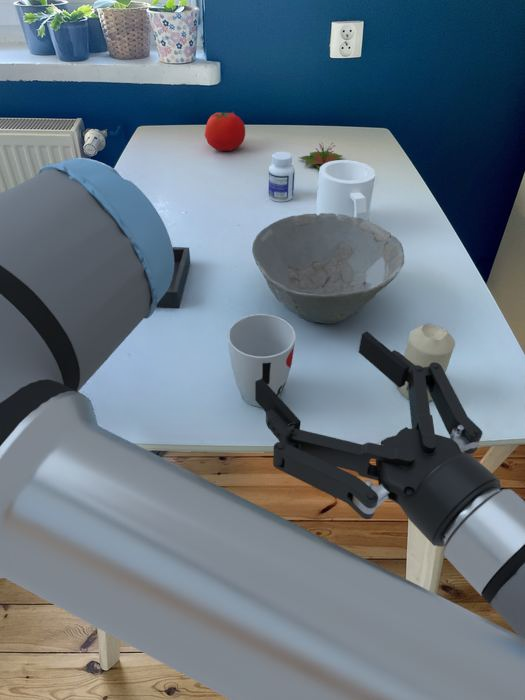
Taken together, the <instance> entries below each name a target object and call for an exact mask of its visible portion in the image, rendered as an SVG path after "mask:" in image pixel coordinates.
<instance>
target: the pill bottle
mask: <svg viewBox="0 0 525 700" xmlns="http://www.w3.org/2000/svg"><path fill="white" fill-rule="evenodd" d="M292 163H293V154H292V153H290V152H288V151H276V152H273V154H272V155H271V164H270V165H269V166H268V198H269V199H270V200H272V201H274V202H279V203H284V202H285V203H286V202H288V201H291V200H292V199H293V198H294V193H295V175H296V174H295V172H296V170H295V166H294V165H293V164H292Z"/></svg>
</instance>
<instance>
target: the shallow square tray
mask: <svg viewBox="0 0 525 700" xmlns="http://www.w3.org/2000/svg"><path fill="white" fill-rule="evenodd" d="M172 248H173V253H174V273H173V277H172V281H171V284H170V287H169V288H168V290H167V292H166V293H165V294H164V296H163V297H162V298H161V299H160V301H159V302H158V303H157V306H156V309H157V308H162V309H179V308H180V305H181V301H182V298H183V294H184V290H185V287H186V282H187V278H188V274H189V270H190V267H191V254H190V253H191V252H190V247H188V246H187V247H186V246H172Z"/></svg>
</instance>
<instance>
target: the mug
mask: <svg viewBox="0 0 525 700" xmlns="http://www.w3.org/2000/svg"><path fill="white" fill-rule="evenodd" d="M318 170H319V171H318V181H317V191H316V203H315V213H314V214H317V215H319V214H321V213H325V214H331V213H333V214H336V216H337V215H338V214H341V215H347V216H349V217H356V218H361V219H363V220H366V221H369V216H370V210H371V203H372V197H373V191H374V185H375V179H376V170H375V169H374V168H373V167H372V166H370V165H368V164H366V163H363V162H361V161H356V160H349V159H344V160H335V161H330V162H327V163H325V164H323V165H322V166H321V167H320V169H318Z"/></svg>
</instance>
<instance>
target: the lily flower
mask: <svg viewBox="0 0 525 700" xmlns="http://www.w3.org/2000/svg"><path fill="white" fill-rule="evenodd" d="M333 144H334V142H332V143H330V145H329V146H328V147H327V148H326V149H325V146H324V144H323V142H321V143H318V145H319V149H320V150H319V149H318V148H317V147H316V148H315V150H316V151H313V152H309V155H303V156H299V157H298V159H301V160H304V161H306V162H305V164H304V167H307V166H311V165H315V167H316V168H317V169H318V170H320V167H321V166H322V165H323V164H325V163H327V162H330V161H335V160H345V159H344V158H342V157H343V155H341V154H338V153H336V152H334V150H333V148H334V147H336V145H333Z"/></svg>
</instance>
